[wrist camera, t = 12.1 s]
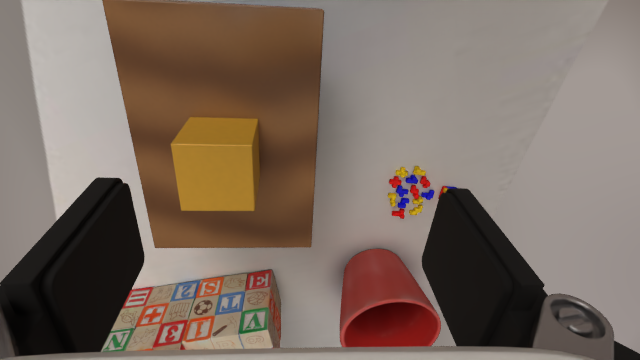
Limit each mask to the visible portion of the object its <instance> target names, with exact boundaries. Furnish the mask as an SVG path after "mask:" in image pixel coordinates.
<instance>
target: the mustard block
mask: <svg viewBox="0 0 640 360" xmlns="http://www.w3.org/2000/svg"><path fill="white" fill-rule="evenodd" d="M171 149H172V155H173V162H174V168H175V174H176V181H177V187H178V193H179V200H180V206H181V210H182V211H255V206H256V199H257V193H258V186H259V179H260V162H259V128H258V119H245V118H209V117H190V118H189V119H188V121H187V122H186V123H185V125H184V126H183V128H182V129H181V130H180V132H179V133H178V135H177V136H176V137H175V139H174V140H173V142H172V143H171Z"/></svg>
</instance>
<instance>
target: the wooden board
mask: <svg viewBox="0 0 640 360" xmlns="http://www.w3.org/2000/svg"><path fill="white" fill-rule="evenodd" d="M102 1H103V6H104V11H105V15H106V20H107V25H108V29H109V34H110V39H111V43H112V48H113V53H114V57H115V62H116V67H117V72H118V76H119V81H120V86H121V90H122V95H123V100H124V104H125V109H126V114H127V119H128V123H129V128H130V133H131V137H132V142H133V147H134V151H135V156H136V161H137V166H138V170H139V175H140V180H141V184H142V189H143V194H144V198H145V203H146V208H147V213H148V217H149V222H150V227H151V231H152V236H153V241H154V245H155V248H254V247H311V242H312V223H313V205H314V187H315V169H316V151H317V132H318V114H319V96H320V78H321V60H322V42H323V23H324V10H323V9H319V8H301V7H283V6H265V5H247V4H228V3H210V2H192V1H174V0H102ZM190 117H209V118H245V119H258V128H259V162H260V179H259V186H258V193H257V199H256V206H255V211H182V210H181V206H180V200H179V193H178V187H177V181H176V174H175V168H174V162H173V155H172V149H171V143H172V142H173V140H174V139H175V137H176V136H177V135H178V133H179V132H180V130H181V129H182V128H183V126H184V125H185V123H186V122H187V121H188V119H189V118H190Z"/></svg>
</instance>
